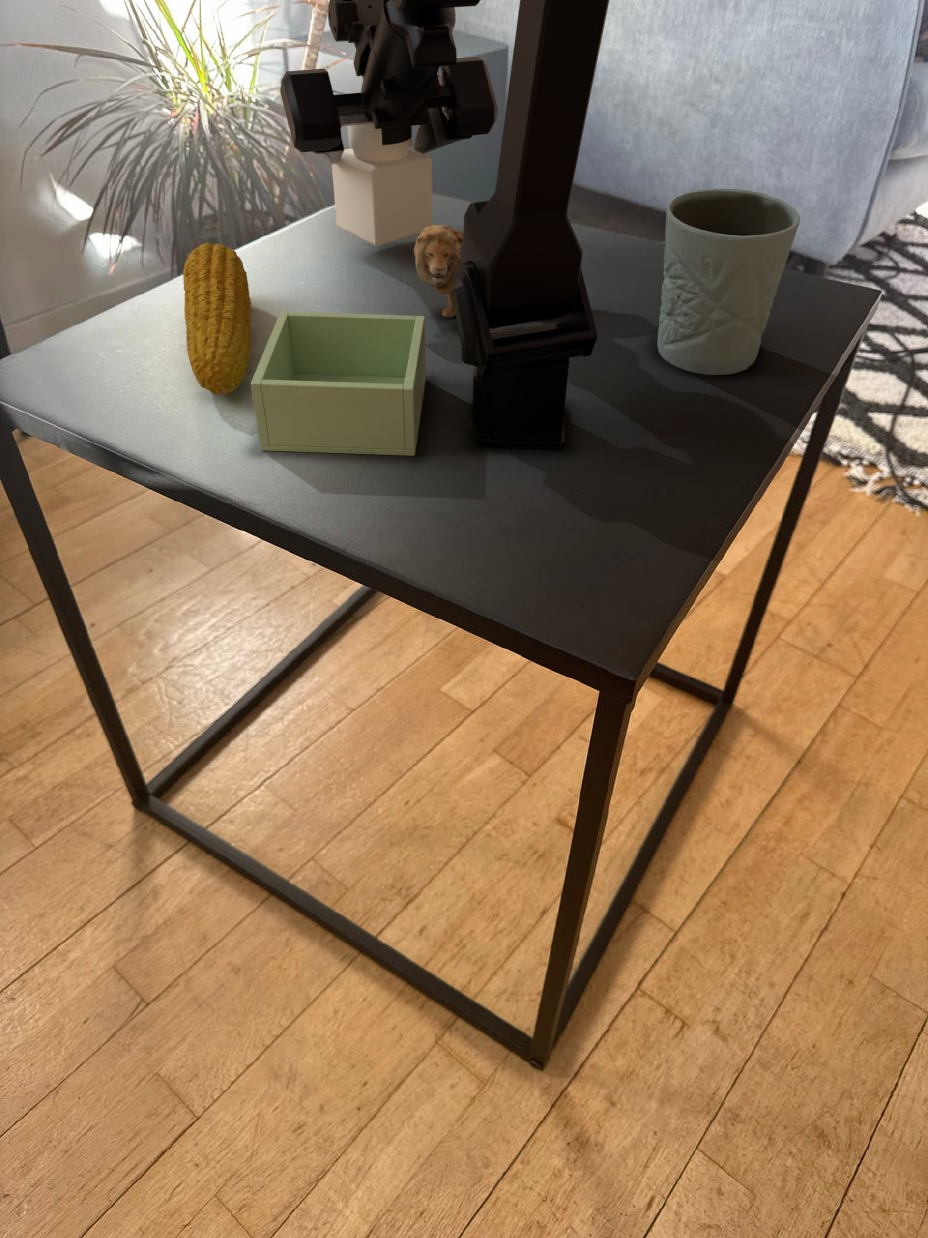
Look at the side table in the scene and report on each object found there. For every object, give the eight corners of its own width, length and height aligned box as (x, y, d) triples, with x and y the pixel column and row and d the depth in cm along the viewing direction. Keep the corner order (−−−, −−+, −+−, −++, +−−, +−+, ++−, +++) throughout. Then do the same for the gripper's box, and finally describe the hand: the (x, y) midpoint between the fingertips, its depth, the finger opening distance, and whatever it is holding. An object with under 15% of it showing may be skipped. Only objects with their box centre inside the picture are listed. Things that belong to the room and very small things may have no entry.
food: (188, 299, 88) (176, 234, 84) (249, 294, 89) (240, 230, 85) (193, 415, 73) (178, 343, 69) (267, 407, 74) (257, 336, 70)
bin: (425, 378, 78) (424, 315, 74) (414, 456, 69) (413, 389, 66) (288, 374, 78) (280, 310, 74) (260, 450, 70) (250, 383, 66)
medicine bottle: (392, 211, 99) (387, 83, 91) (434, 231, 95) (432, 99, 87) (335, 227, 96) (324, 95, 88) (376, 248, 92) (368, 112, 84)
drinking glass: (781, 345, 83) (818, 205, 75) (737, 393, 77) (772, 246, 68) (675, 315, 87) (699, 178, 79) (625, 358, 81) (645, 215, 72)
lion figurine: (429, 344, 82) (428, 241, 76) (405, 319, 85) (402, 218, 79) (574, 313, 87) (584, 213, 81) (545, 290, 90) (553, 193, 84)
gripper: (490, -51, 79) (445, 67, 94) (270, -42, 74) (260, 82, 89) (522, 77, 79) (472, 175, 94) (304, 95, 74) (288, 195, 89)
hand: (375, 154), depth 92 cm, fingers closed on medicine bottle, 8 cm apart
